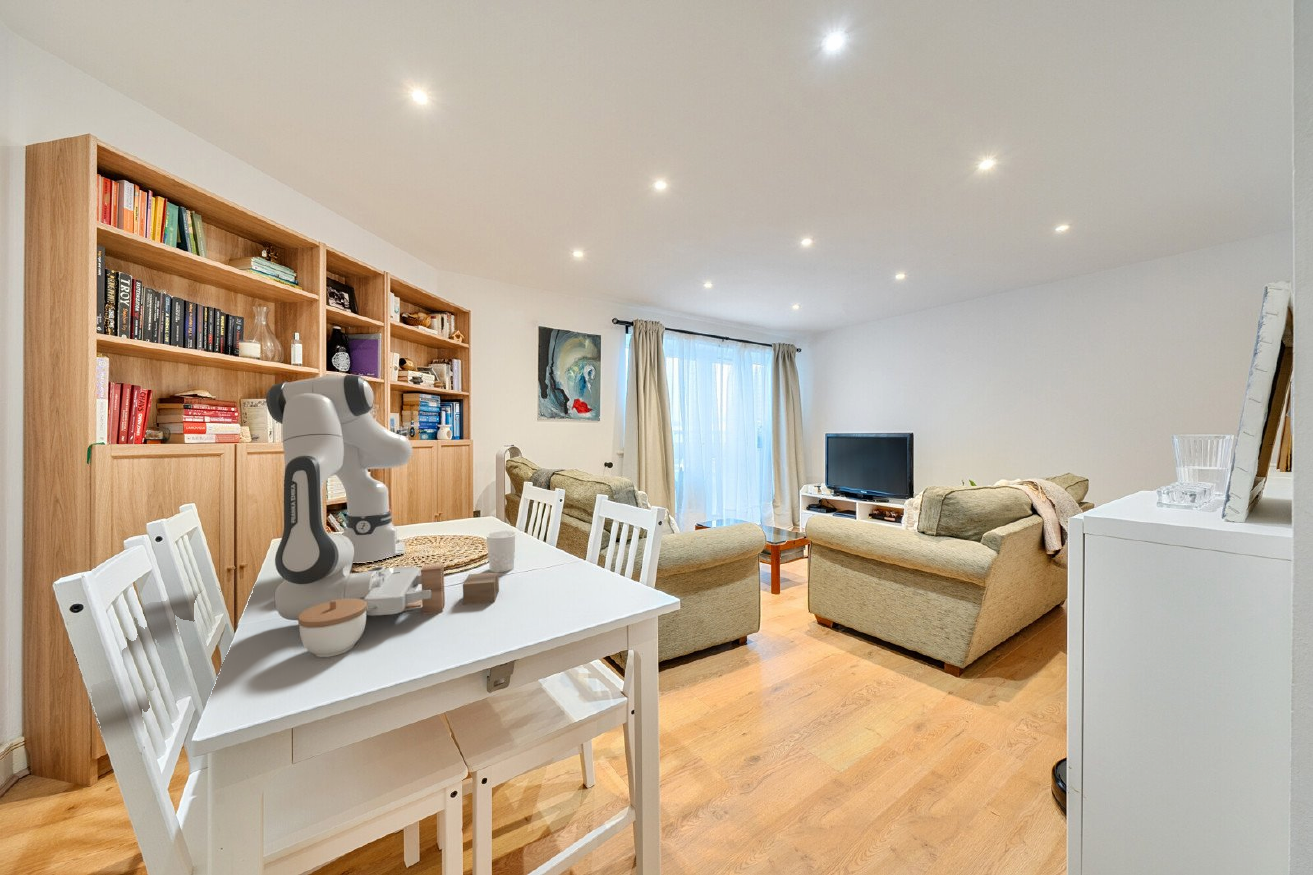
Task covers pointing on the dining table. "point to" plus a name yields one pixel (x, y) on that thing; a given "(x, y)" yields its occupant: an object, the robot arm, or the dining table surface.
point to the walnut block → (480, 588)
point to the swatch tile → (413, 605)
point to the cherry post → (433, 587)
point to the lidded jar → (332, 626)
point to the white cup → (501, 551)
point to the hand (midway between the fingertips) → (435, 585)
